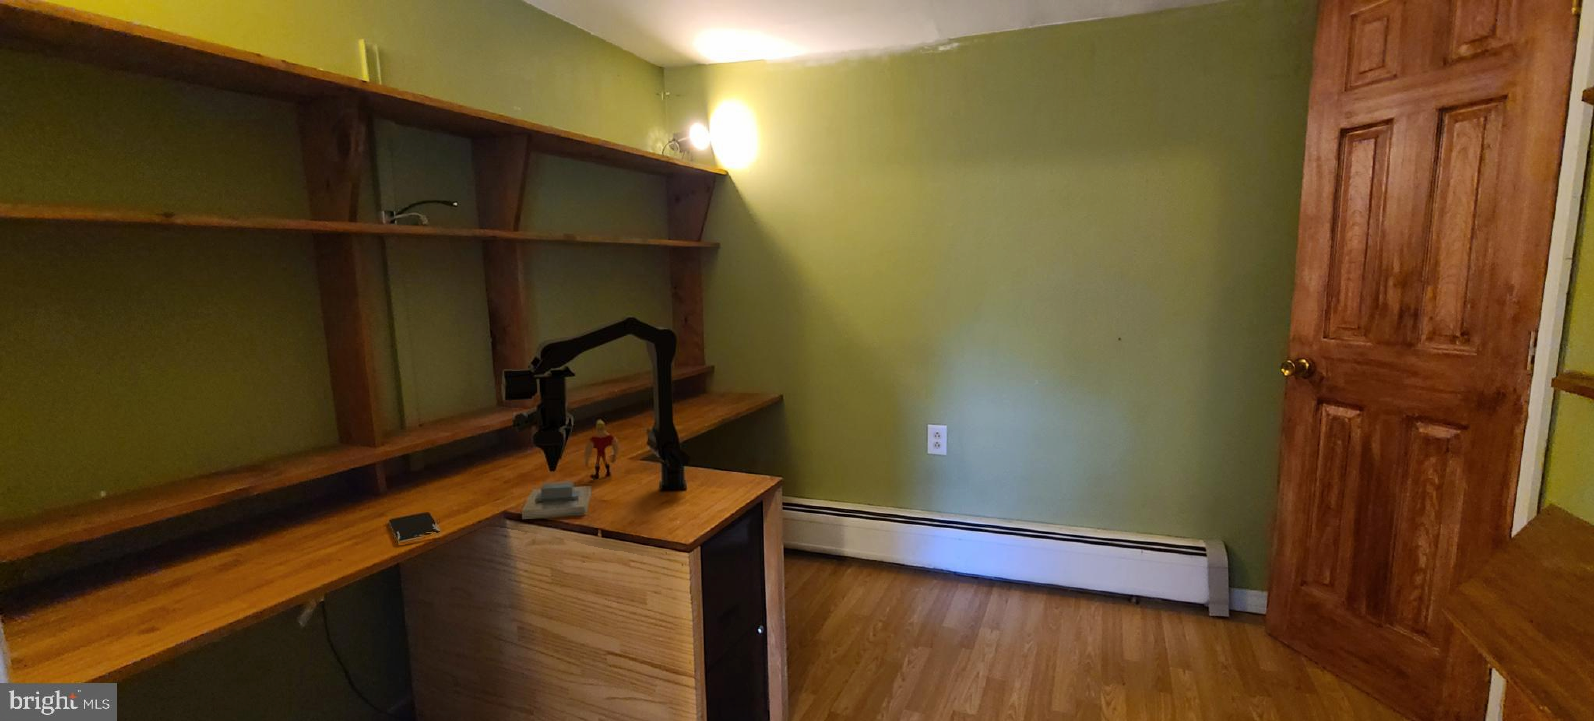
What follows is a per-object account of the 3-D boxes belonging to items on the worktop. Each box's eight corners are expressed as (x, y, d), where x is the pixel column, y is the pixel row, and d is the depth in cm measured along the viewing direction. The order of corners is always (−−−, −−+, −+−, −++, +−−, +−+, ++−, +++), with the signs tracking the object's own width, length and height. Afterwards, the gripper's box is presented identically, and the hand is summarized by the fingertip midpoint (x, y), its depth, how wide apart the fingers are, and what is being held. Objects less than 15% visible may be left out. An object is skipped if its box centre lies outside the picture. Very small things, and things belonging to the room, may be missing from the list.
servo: (541, 498, 157) (540, 478, 157) (582, 496, 159) (581, 476, 159) (535, 510, 150) (534, 489, 149) (578, 507, 152) (577, 486, 151)
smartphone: (428, 511, 147) (442, 532, 135) (429, 517, 147) (442, 539, 135) (388, 519, 142) (398, 542, 130) (388, 525, 142) (399, 548, 130)
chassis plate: (533, 497, 158) (533, 489, 158) (590, 494, 161) (590, 486, 161) (522, 519, 145) (521, 510, 144) (585, 515, 147) (584, 506, 147)
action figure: (615, 470, 179) (614, 416, 177) (621, 474, 176) (620, 418, 174) (581, 477, 173) (579, 420, 171) (586, 481, 170) (584, 423, 168)
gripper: (522, 390, 157) (525, 455, 159) (505, 406, 138) (508, 479, 141) (572, 389, 159) (574, 453, 161) (562, 405, 141) (564, 477, 143)
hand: (555, 465), depth 151 cm, fingers open, 9 cm apart
